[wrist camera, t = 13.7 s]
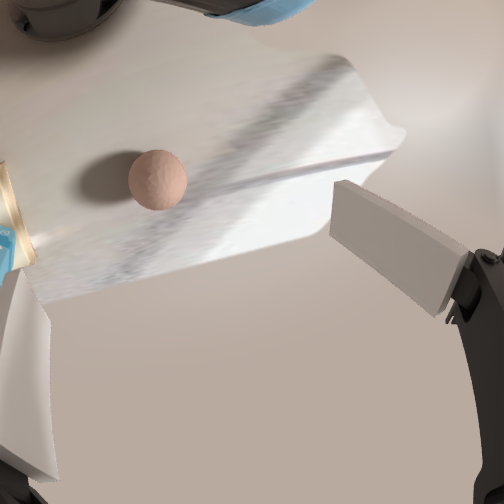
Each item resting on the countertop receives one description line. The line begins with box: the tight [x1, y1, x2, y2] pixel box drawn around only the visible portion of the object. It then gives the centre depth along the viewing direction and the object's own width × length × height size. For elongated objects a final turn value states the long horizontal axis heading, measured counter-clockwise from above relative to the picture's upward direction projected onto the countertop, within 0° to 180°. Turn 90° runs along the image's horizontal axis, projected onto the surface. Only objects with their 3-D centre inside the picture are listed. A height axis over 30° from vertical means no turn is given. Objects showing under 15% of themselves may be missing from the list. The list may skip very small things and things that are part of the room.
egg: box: [128, 150, 187, 210], centre depth 33 cm, size 7×7×10 cm
